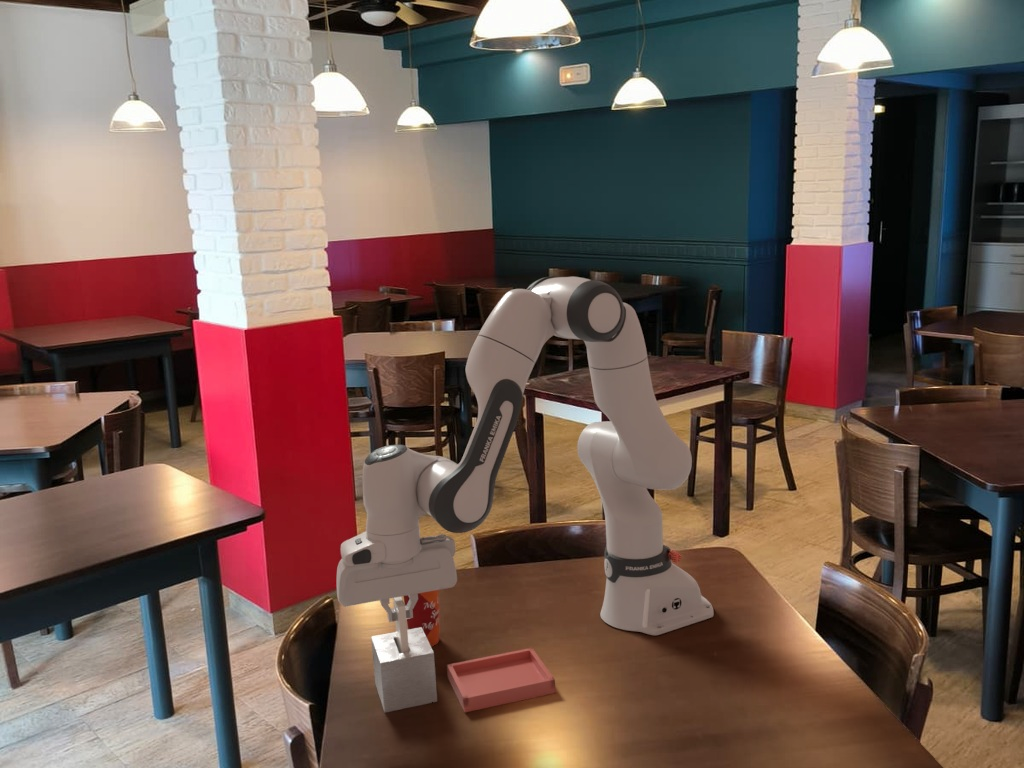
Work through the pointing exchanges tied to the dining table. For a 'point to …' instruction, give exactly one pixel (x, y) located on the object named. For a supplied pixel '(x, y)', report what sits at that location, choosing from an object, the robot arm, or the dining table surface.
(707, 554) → the dining table surface
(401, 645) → the long rectangular block
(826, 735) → the dining table surface
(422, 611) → the paper cup
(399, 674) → the dispenser
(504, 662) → the tray
